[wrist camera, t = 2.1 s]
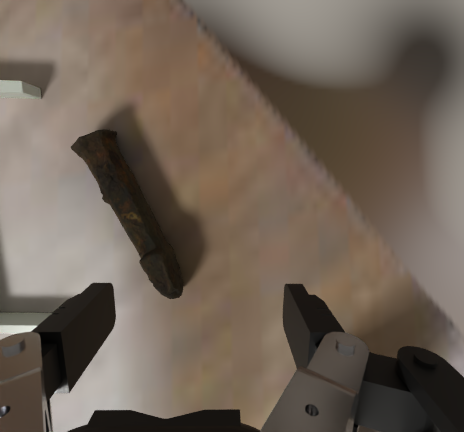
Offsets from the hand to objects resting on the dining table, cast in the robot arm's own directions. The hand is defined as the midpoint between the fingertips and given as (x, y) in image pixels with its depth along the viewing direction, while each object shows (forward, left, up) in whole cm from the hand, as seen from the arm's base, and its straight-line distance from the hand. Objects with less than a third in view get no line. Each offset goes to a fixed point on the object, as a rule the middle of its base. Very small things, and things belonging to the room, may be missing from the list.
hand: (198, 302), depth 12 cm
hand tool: (+8, 0, -19) cm, 20 cm away
